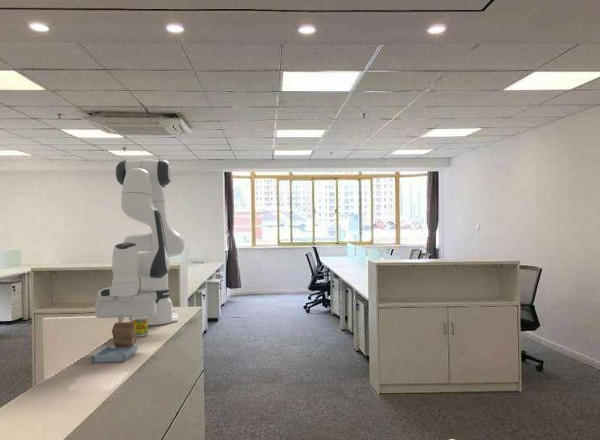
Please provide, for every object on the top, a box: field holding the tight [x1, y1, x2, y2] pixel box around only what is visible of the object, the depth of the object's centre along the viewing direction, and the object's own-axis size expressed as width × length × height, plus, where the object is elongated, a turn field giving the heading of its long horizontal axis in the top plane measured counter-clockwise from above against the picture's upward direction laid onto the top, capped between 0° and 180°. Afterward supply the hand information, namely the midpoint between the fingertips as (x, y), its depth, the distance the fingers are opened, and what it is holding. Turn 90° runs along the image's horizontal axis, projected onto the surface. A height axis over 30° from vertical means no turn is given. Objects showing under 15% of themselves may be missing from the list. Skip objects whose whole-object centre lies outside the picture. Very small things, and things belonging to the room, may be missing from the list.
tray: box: [91, 343, 139, 364], centre depth 146 cm, size 13×10×2 cm
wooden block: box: [111, 321, 137, 348], centre depth 155 cm, size 4×6×8 cm, turn 94°
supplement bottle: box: [133, 316, 149, 338], centre depth 174 cm, size 5×5×10 cm
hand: (126, 329), depth 157 cm, fingers closed
